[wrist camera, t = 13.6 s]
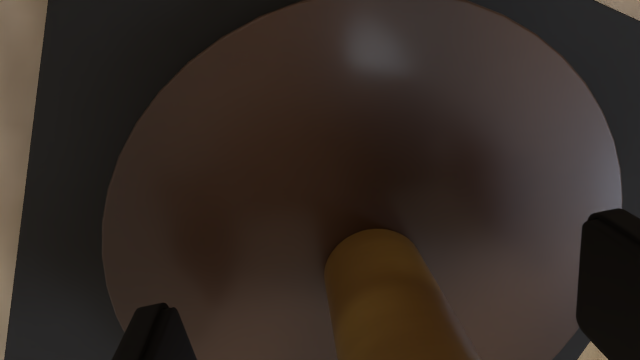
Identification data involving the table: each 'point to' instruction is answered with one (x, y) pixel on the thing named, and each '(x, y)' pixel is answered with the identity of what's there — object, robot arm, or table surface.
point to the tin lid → (363, 188)
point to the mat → (141, 88)
